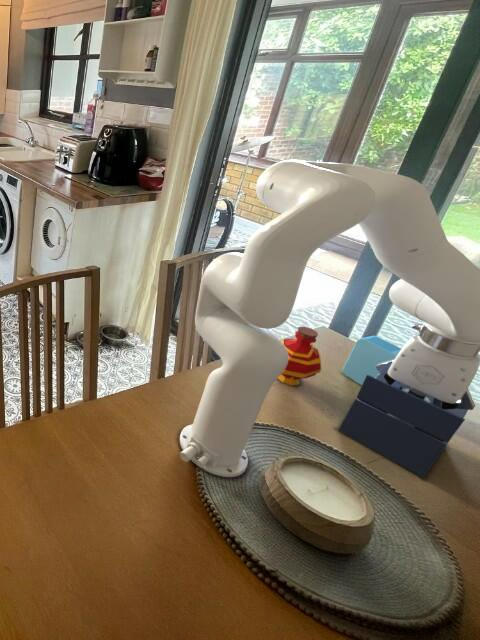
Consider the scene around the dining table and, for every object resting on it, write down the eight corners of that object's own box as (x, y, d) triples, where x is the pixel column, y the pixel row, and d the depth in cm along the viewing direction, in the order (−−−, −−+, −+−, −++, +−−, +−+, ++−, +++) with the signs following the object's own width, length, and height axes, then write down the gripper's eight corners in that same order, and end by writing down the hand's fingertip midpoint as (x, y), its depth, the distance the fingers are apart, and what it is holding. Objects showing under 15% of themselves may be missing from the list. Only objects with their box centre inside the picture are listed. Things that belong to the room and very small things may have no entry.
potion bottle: (320, 395, 102) (344, 346, 95) (274, 389, 104) (294, 341, 97) (298, 367, 111) (319, 321, 105) (256, 362, 113) (274, 316, 106)
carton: (422, 478, 81) (448, 441, 77) (338, 430, 92) (356, 396, 88) (443, 444, 89) (468, 410, 84) (362, 404, 99) (381, 371, 95)
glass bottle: (410, 431, 84) (429, 402, 80) (383, 418, 87) (400, 389, 83) (417, 423, 86) (435, 394, 82) (390, 410, 89) (407, 381, 85)
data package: (405, 401, 100) (429, 362, 95) (393, 405, 99) (416, 366, 94) (352, 369, 110) (371, 333, 105) (340, 372, 109) (358, 335, 104)
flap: (448, 441, 77) (447, 442, 77) (357, 396, 88) (356, 397, 87) (465, 419, 73) (464, 420, 73) (367, 374, 84) (366, 375, 84)
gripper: (384, 325, 82) (348, 394, 90) (515, 373, 69) (459, 449, 77) (397, 313, 86) (361, 381, 93) (523, 358, 73) (469, 431, 81)
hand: (406, 411), depth 85 cm, fingers closed on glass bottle, 4 cm apart
